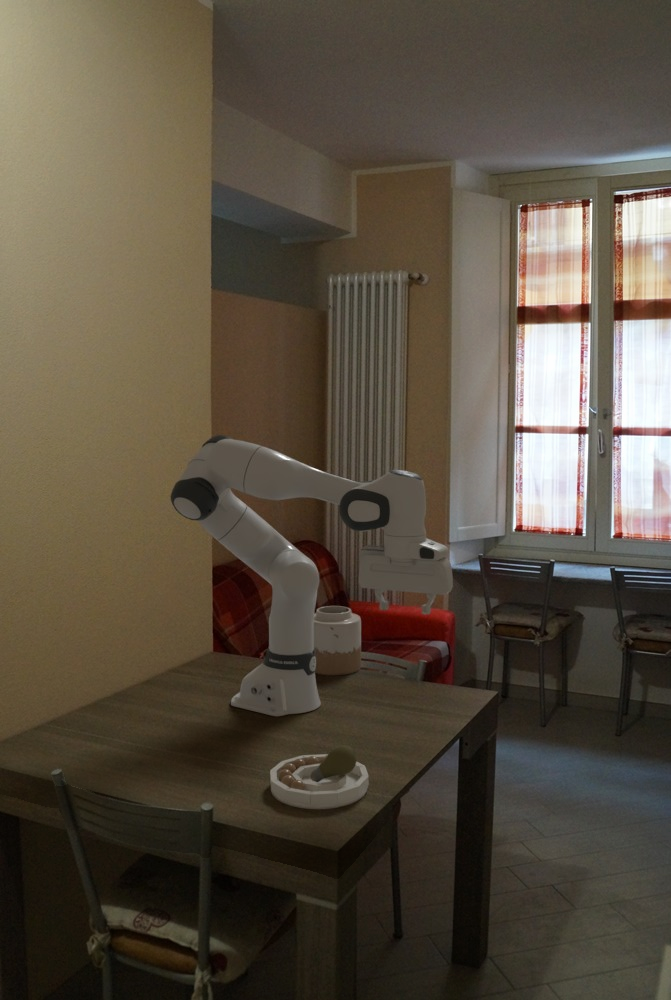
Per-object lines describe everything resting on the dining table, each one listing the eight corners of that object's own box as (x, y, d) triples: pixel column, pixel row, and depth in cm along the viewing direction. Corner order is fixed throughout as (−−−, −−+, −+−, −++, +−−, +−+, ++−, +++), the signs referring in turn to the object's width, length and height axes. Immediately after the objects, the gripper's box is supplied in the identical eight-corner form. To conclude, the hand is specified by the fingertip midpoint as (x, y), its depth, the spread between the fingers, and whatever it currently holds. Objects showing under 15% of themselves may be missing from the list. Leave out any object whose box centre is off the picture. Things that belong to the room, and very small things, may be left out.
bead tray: (253, 798, 180) (253, 780, 180) (296, 762, 197) (296, 745, 197) (344, 816, 173) (344, 796, 172) (381, 777, 190) (381, 759, 189)
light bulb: (301, 760, 185) (344, 734, 185) (315, 776, 188) (357, 750, 188) (307, 780, 181) (351, 753, 180) (321, 796, 183) (364, 770, 183)
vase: (302, 674, 259) (301, 615, 257) (312, 658, 274) (312, 602, 272) (356, 677, 256) (356, 617, 254) (364, 661, 271) (364, 604, 269)
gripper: (353, 546, 199) (354, 610, 201) (446, 552, 191) (446, 619, 192) (364, 542, 205) (365, 604, 206) (455, 547, 196) (454, 612, 198)
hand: (404, 611), depth 199 cm, fingers open, 8 cm apart
